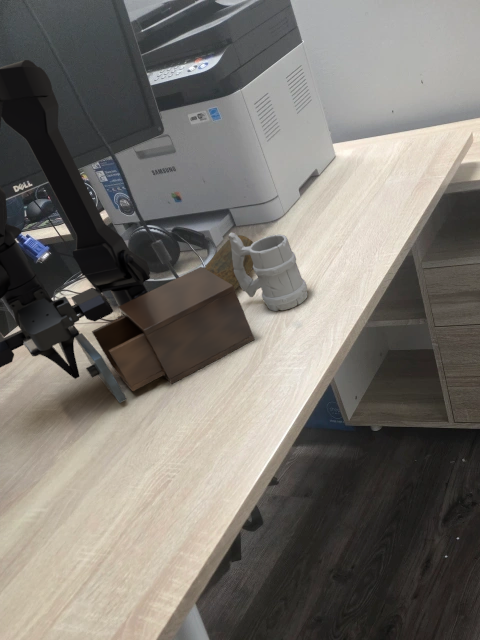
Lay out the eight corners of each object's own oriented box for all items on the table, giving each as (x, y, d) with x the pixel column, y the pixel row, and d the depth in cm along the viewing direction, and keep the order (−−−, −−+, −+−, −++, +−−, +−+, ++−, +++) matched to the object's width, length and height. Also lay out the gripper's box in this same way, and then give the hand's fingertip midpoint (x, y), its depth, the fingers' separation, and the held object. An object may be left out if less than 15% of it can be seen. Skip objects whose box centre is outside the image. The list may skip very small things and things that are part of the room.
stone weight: (232, 268, 125) (219, 234, 121) (265, 264, 123) (252, 229, 119) (201, 308, 115) (185, 272, 111) (236, 304, 113) (221, 267, 108)
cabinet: (171, 384, 97) (143, 330, 91) (145, 357, 106) (117, 306, 100) (254, 339, 102) (233, 285, 95) (222, 317, 110) (201, 266, 104)
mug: (299, 310, 105) (274, 238, 97) (237, 314, 110) (209, 245, 102) (316, 287, 110) (294, 216, 102) (256, 292, 115) (230, 224, 107)
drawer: (112, 407, 94) (85, 364, 90) (91, 380, 102) (66, 339, 97) (200, 360, 99) (180, 316, 94) (174, 337, 107) (154, 297, 102)
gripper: (-45, 329, 81) (28, 428, 91) (94, 265, 86) (148, 365, 96) (-55, 306, 88) (14, 399, 99) (74, 248, 94) (126, 343, 104)
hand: (76, 377), depth 99 cm, fingers closed
